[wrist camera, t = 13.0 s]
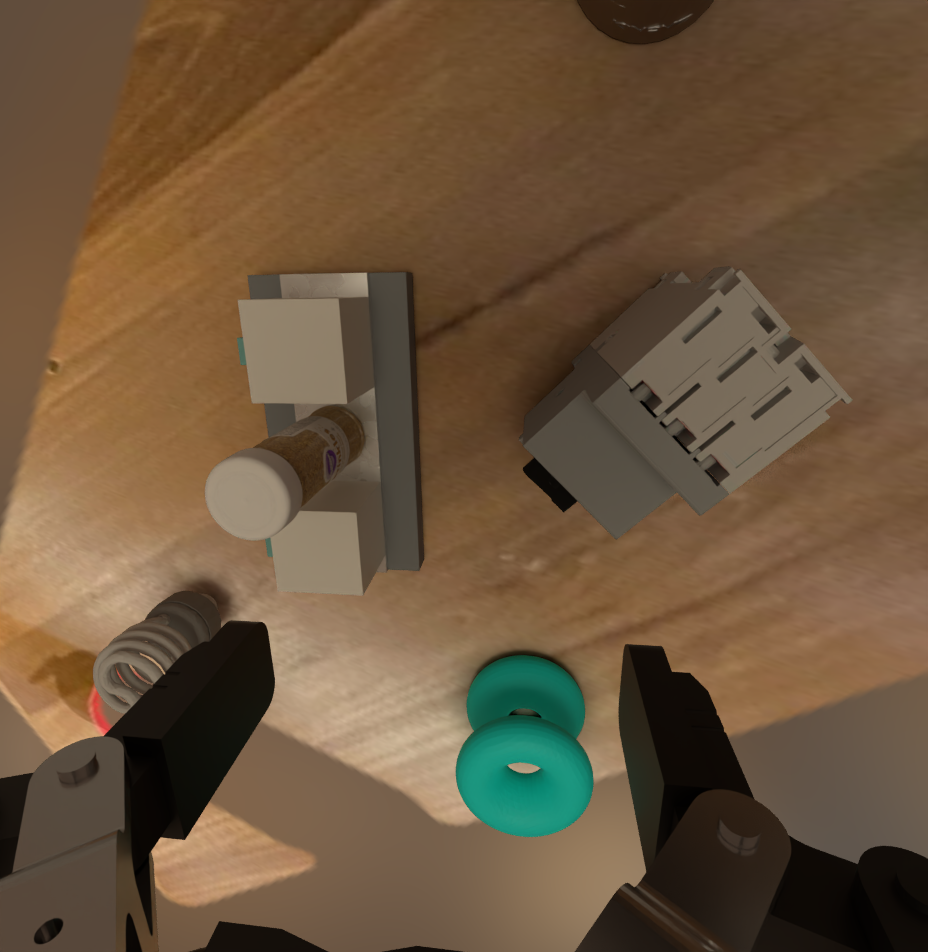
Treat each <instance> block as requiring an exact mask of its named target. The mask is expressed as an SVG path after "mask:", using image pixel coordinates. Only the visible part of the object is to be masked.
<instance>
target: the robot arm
mask: <svg viewBox="0 0 928 952" xmlns="http://www.w3.org/2000/svg"><path fill="white" fill-rule="evenodd" d="M577 1H578V2H579V4H580V6H581V8H582V9H583V11H584V13H585V15H586V16H587V17H588V18H589V19H590V20H591V21H592V23H593V24H594V25H595V26H596V27H597V28H598V29H600V30H601V31H603V32H604V33H606V34H607V35H609V36H611V37H612V38H615V39H618V40H621V41H624V42H627V43H642V44H645V43H651V42H656V41H661V40H664V39H666V38H669V37H671V36H673V35H676V34H678V33H680V32H681V31H682V30H684V29H685V28H687V27H688V26H690V25H691V24H692V23H694V22H695V21H696V20H697V19H698V18H699V17H700V16H701V15H702V14H703V13H704V12H705V11H706V10H707V9H708V8H709V7H710V5H711V4H712V2H713V1H714V0H577ZM274 688H275V677H274V670H273V663H272V656H271V649H270V643H269V636H268V630H267V627H266V625H265V624H264V623H263V622H249V621H232V620H231V621H228V622H227V623H226V624H225V625H224V626H223V627H222V628H221V629H220V630H219V631H218V632H217V633H216V634H215V636H214V637H213V638H212V639H211V640H210V641H209V642H205V641H204V642H202V643H200V644H199V645H197V646H195V647H194V648H192V649H191V650H189V651H187V652H186V653H184V654H182V655H181V656H180V657H179V658H178V659H177V660H176V661H175V662H174V663H173V664H172V666H171V667H170V668H169V669H168V670H167V671H166V674H165V675H162V676H161V677H160V678H159V679H158V680H157V681H156V682H155V683H154V684H153V688H152V689H151V688H149V689H148V691H147V692H146V693H145V694H144V695H143V696H142V697H141V698H140V699H139V700H138V701H137V702H136V703H135V704H134V705H133V706H132V707H131V708H130V709H129V710H128V711H127V712H126V713H125V715H124V716H123V717H122V718H121V719H120V720H119V721H118V722H117V723H116V724H115V725H114V726H113V727H112V728H111V729H110V730H109V731H108V732H107V733H106V734H105V735H104V736H101V737H93V738H88V739H84V740H81V741H78V742H75V743H73V744H71V745H68V746H66V747H64V748H63V749H61V750H59V751H57V752H56V753H54V754H53V755H52V756H50V757H49V758H48V759H46V760H45V761H44V762H43V763H42V764H41V765H40V766H39V767H38V768H37V769H36V771H35V772H34V773H29V774H23V775H18V776H12V777H6V778H1V779H0V952H159V945H158V929H157V911H156V894H155V878H154V862H153V857H152V853H151V850H152V849H153V848H154V846H155V845H156V843H157V842H158V840H159V839H160V837H163V838H172V839H182V840H185V839H186V837H187V836H188V834H189V833H190V831H191V829H192V828H193V826H194V825H195V823H196V822H197V820H198V818H199V817H200V815H201V814H202V812H203V810H204V809H205V807H206V806H207V804H208V803H209V801H210V799H211V798H212V796H213V795H214V793H215V791H216V790H217V788H218V787H219V785H220V784H221V782H222V780H223V779H224V777H225V776H226V774H227V773H228V771H229V769H230V768H231V766H232V765H233V763H234V761H235V760H236V758H237V757H238V755H239V753H240V752H241V750H242V749H243V747H244V746H245V744H246V742H247V741H248V739H249V738H250V736H251V735H252V733H253V731H254V730H255V728H256V726H257V725H258V723H259V722H260V720H261V719H262V717H263V716H264V714H265V712H266V711H267V709H268V707H269V706H270V703H271V701H272V698H273V694H274ZM619 729H620V737H621V742H622V747H623V752H624V758H625V763H626V768H627V773H628V778H629V784H630V789H631V794H632V799H633V804H634V809H635V815H636V820H637V825H638V830H639V836H640V841H641V846H642V851H643V856H644V862H645V866H646V874H645V875H644V877H643V878H642V880H641V881H640V882H639V884H638V885H637V886H636V887H633V886H632V885H630V884H629V883H625V884H624V885H622V886H621V887H620V888H619V889H618V890H617V891H616V893H615V894H614V895H613V897H612V898H611V900H610V901H609V903H608V904H607V905H606V907H605V908H604V910H603V911H602V913H601V914H600V916H599V917H598V919H597V920H596V922H595V923H594V925H593V926H592V927H591V929H590V930H589V932H588V933H587V935H586V936H585V938H584V939H583V940H582V942H581V943H580V945H579V946H578V948H577V950H576V951H575V952H928V859H927V858H925V857H923V856H921V855H919V854H917V853H914V852H912V851H909V850H906V849H902V848H898V847H892V846H878V847H873V848H870V849H868V850H867V851H865V852H864V853H863V854H862V856H861V857H860V860H859V863H858V864H856V863H853V862H850V861H848V860H845V859H842V858H839V857H837V856H834V855H831V854H828V853H826V852H823V851H820V850H817V849H815V848H812V847H809V846H807V845H805V844H803V843H801V842H799V841H797V840H795V839H794V838H792V837H791V836H789V835H788V833H787V831H786V829H785V828H784V826H783V824H782V823H781V822H780V821H779V819H778V818H777V817H776V816H775V815H774V814H773V813H772V812H771V811H770V810H769V809H768V808H766V807H765V806H764V805H763V804H761V803H759V802H758V801H756V800H755V799H754V797H753V795H752V792H751V790H750V788H749V785H748V783H747V781H746V778H745V776H744V774H743V772H742V769H741V767H740V765H739V762H738V760H737V758H736V755H735V753H734V751H733V748H732V746H731V744H730V741H729V739H728V737H727V734H726V733H725V732H724V727H723V725H722V723H721V720H720V718H719V716H718V715H717V711H716V709H715V706H714V704H713V702H712V699H711V697H710V695H709V692H708V691H707V690H706V689H705V688H704V687H703V686H702V685H701V684H700V683H699V682H698V681H697V680H696V679H695V678H694V677H693V676H692V675H691V674H690V673H683V672H672V671H671V668H670V665H669V663H668V660H667V657H666V654H665V651H664V649H663V647H662V646H648V645H631V644H626V645H625V647H624V652H623V663H622V674H621V685H620V696H619ZM190 952H328V951H326V950H324V949H321V948H319V947H317V946H315V945H313V944H311V943H309V942H307V941H305V940H303V939H301V938H299V937H297V936H295V935H293V934H291V933H288V932H287V931H285V930H283V929H277V928H269V927H261V926H253V925H245V924H236V923H229V922H221V921H219V923H218V925H217V927H216V929H215V931H214V933H213V935H212V937H211V939H210V941H209V943H208V945H207V947H205V948H200V949H196V950H193V951H190ZM384 952H461V951H453V950H445V949H437V948H429V947H421V946H414V947H408V948H402V949H396V950H390V951H384Z"/></svg>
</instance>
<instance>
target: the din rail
mask: <svg viewBox="0 0 928 952" xmlns="http://www.w3.org/2000/svg"><path fill="white" fill-rule="evenodd" d="M279 275H280V284H281V293H282V298H319V297H368V298H369V313H370V328H371V343H372V358H373V374H374V388H372V389H371V390H369V391H367V392H366V393H364V394H362V395H361V396H359V397H358V398H356V399H354V400H353V401H351V402H350V403H348V404H294V407H295V416H296V422H297V421H299V420H301V419H303V418H306V417H308V416H310V415H311V414H312V413H313V412H314V411H316V410H317V409H319V408H322V407H325V406H335V407H340V408H343V409H346V410H347V411H349V412H350V413H352V414H353V415H354V416H355V417H356V418H357V420H358V421H359V422H360V424H361V426H362V428H363V431H364V439H365V440H364V445H363V449H362V452H361V453H360V455H359V457H358V458H357V459H356V460H355V461H353V462H351V463H350V464H349V465H347V466H346V467H345V468H344V469H343V471H342V472H341V473H340V474H339V475H338V476H337V477H336V478H335V479H334V480H332V481H369V482H381V495H382V510H383V525H384V540H385V557H384V559H383V561H382V562H381V564H380V566H379V568H378V570H377V571H376V572H387V571H388V558H387V543H386V528H385V512H384V497H383V481H382V466H381V451H380V435H379V420H378V404H377V389H376V374H375V358H374V343H373V327H372V312H371V297H370V281H369V273H328V274H279Z"/></svg>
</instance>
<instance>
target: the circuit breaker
mask: <svg viewBox="0 0 928 952" xmlns="http://www.w3.org/2000/svg"><path fill="white" fill-rule="evenodd" d="M660 279H661V282H660V283H659V284H658V285H657V286H655V287H654V288H653V289H648V290H647V291H645V292H644V293H643V294H642V295H641V296H640V297H639V298H638V299H637V300H636V301H635V302H634V303H633V304H632V305H631V306H630V307H629V308H627V309H626V310H625V311H624V312H623V313H622V314H621V315H620V316H619V317H618V318H617V319H616V320H615V321H614V322H613V323H612V324H611V325H610V326H608V327H607V328H606V329H605V330H604V331H603V332H602V333H601V334H600V335H599V336H598V337H597V338H596V339H595V340H594V341H593V342H592V343H591V344H590V345H591V346H590V345H588V346H587V347H586V348H585V349H584V350H583V351H582V352H581V353H580V354H579V355H578V356H577V357H576V358H575V359H574V360H573V361H572V364H573V366H574V368H575V369H574V370H573V371H572V372H571V373H570V374H569V375H568V376H567V377H566V378H565V379H564V380H563V381H562V382H561V383H559V384H558V385H557V386H556V387H555V388H554V389H553V390H552V391H551V392H550V393H549V394H548V395H547V396H546V397H545V398H544V399H542V400H541V401H540V402H539V403H538V404H537V405H536V406H535V407H534V408H533V409H532V410H531V411H530V412H529V413H528V414H527V415H526V416H525V419H524V433H523V434H522V435H521V436H520V437H519V441H520V442H521V443H522V444H523V446H524V447H525V448H526V449H527V450H528V451H529V452H530V453H531V454H532V455H533V456H534V457H535V458H534V459H532V460H531V461H530V462H529V463H528V464H527V465H526V466H524V467H523V471H524V473H525V474H526V475H527V476H528V477H529V478H530V479H531V480H532V481H533V482H534V483H536V484H537V485H538V486H539V487H540V488H541V489H542V490H543V491H544V492H545V493H546V494H547V495H548V496H549V497H550V498H551V499H552V501H553V502H554V503H555V504H556V505H557V506H558V507H559V508H560V509H561V510H562V511H563V512H565V511H566V510H567V509H569V508H570V507H571V506H572V505H573V504H575V503H576V502H577V501H578V502H579V503H580V504H581V505H582V506H583V507H584V508H585V509H586V510H587V511H588V512H589V513H590V514H591V515H592V516H593V517H594V518H595V519H596V520H597V521H598V522H599V523H600V524H601V525H602V526H603V527H604V528H605V529H606V530H607V531H608V532H609V533H610V534H611V535H612V536H613V537H614V538H615V539H618V538H619V537H620V536H622V535H623V534H624V533H626V532H627V531H628V530H629V529H631V528H632V527H633V526H634V525H636V524H637V523H638V522H640V521H641V520H642V519H643V518H645V517H646V516H647V515H648V514H650V513H651V512H652V511H653V510H655V509H656V508H657V507H659V506H660V505H661V504H662V503H664V502H665V501H666V500H667V499H669V498H670V497H671V496H673V495H674V494H675V493H676V492H677V493H678V494H679V495H680V496H681V497H682V498H683V499H684V500H685V501H686V502H687V503H688V504H689V505H690V506H691V507H692V508H693V509H694V510H695V512H696V513H697V514H698V515H702V514H704V513H705V512H706V511H708V510H709V509H710V508H712V507H713V506H714V505H716V504H717V503H718V502H720V501H721V500H722V499H724V498H725V497H726V496H728V495H729V493H731V492H733V491H734V490H735V489H737V488H738V487H739V486H741V485H742V484H743V483H745V482H746V481H747V480H749V479H750V478H751V477H752V476H754V475H755V474H756V473H758V472H759V471H760V470H762V469H763V468H764V467H766V466H767V465H768V464H770V463H771V462H772V461H774V460H775V459H776V458H777V457H779V456H780V455H781V454H783V453H784V452H785V451H787V450H788V449H789V448H791V447H792V446H793V445H795V444H796V443H797V442H798V441H800V440H801V439H802V438H804V437H805V436H806V435H808V434H809V433H810V432H812V431H813V430H814V429H816V428H817V427H818V426H819V425H821V424H822V423H823V422H825V421H826V420H827V419H829V418H830V416H829V415H828V414H827V413H826V412H825V411H826V410H827V409H828V408H829V407H831V406H832V405H833V404H835V403H836V402H837V401H839V400H840V399H841V400H842V401H843V402H844V403H846V404H848V403H850V402H851V401H852V399H851V398H850V397H849V395H848V394H847V393H846V392H845V391H844V390H843V388H842V387H841V386H840V385H839V384H838V383H837V381H836V380H835V379H834V378H833V377H832V376H831V374H830V373H829V372H828V371H827V370H826V369H825V367H824V366H823V365H822V364H821V363H820V362H819V360H818V359H817V358H816V357H815V356H814V355H813V353H812V352H811V351H810V350H809V349H808V348H807V347H806V345H805V344H804V343H802V342H800V341H798V340H796V339H795V338H793V337H791V336H790V335H789V334H788V332H789V331H790V330H791V328H790V327H789V326H788V324H787V323H786V322H785V321H784V320H783V319H782V317H781V316H780V315H779V314H778V313H777V312H776V310H775V309H774V308H773V307H772V306H771V305H770V303H769V302H768V301H767V300H766V299H765V298H764V296H763V295H762V294H761V293H760V292H759V291H758V289H757V288H756V287H755V286H754V285H753V284H752V282H751V281H750V280H749V279H748V278H747V277H746V275H745V274H744V273H743V272H742V271H741V270H740V269H738V270H737V271H735V270H734V269H733V268H732V267H730V266H728V267H719V268H714V269H713V270H712V271H711V272H709V273H708V274H707V275H706V276H705V277H704V278H703V279H702V280H701V281H700V282H699V283H692V282H691V281H690V280H689V279H688V278H687V276H686V275H685V274H684V273H683V272H682V271H681V272H672V273H669V274H668V275H667V274H666V273H664V274H663V275H662V276H661V277H660ZM618 375H619V376H620V377H621V378H620V377H619V376H618ZM631 389H632V390H633V391H632V392H631V391H630V390H631ZM641 400H642V401H643V402H644V403H645V404H646V405H647V406H648V407H647V408H645V406H644V405H643V404H642V403H640V401H641ZM653 414H655V415H656V416H655V415H653ZM661 421H662V422H663V423H664V424H663V423H662V422H661ZM677 438H678V439H679V440H680V441H681V442H682V443H683V444H682V443H681V442H680V441H679V440H678V439H677ZM686 448H687V449H688V450H689V451H690V452H689V451H688V450H687V449H686ZM695 457H696V458H697V459H698V460H697V459H696V458H695ZM706 469H707V470H708V471H709V472H710V473H711V474H712V475H713V476H714V477H715V478H716V479H717V480H718V481H719V482H718V481H717V480H716V479H715V478H714V477H713V476H712V475H711V474H710V473H709V472H708V471H707V470H706ZM720 484H721V485H722V486H723V487H724V488H725V489H726V490H727V491H728V492H729V493H728V492H727V491H726V490H725V489H724V488H723V487H722V486H721V485H720Z"/></svg>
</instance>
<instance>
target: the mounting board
mask: <svg viewBox="0 0 928 952" xmlns="http://www.w3.org/2000/svg"><path fill="white" fill-rule="evenodd" d="M369 281H370V297H371V312H372V327H373V343H374V358H375V374H376V389H377V404H378V420H379V435H380V451H381V466H382V481H383V497H384V512H385V528H386V543H387V558H388V569H390V570H412V571H420V568H421V566H422V563H423V561H424V544H423V521H422V497H421V473H420V449H419V425H418V401H417V377H416V353H415V329H414V305H413V281H412V273H408V272H392V273H369ZM248 282H249V290H250V298H251V299H271V298H282V293H281V284H280V275H248ZM264 405H265V413H266V420H267V428H268V436H269V437H271V436H273V435H274V434H276V433H278V432H280V431H282V430H283V429H285V428H287V427H289V426H290V425H292V424H294V423H296V416H295V407H294V404H292V403H264Z"/></svg>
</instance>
